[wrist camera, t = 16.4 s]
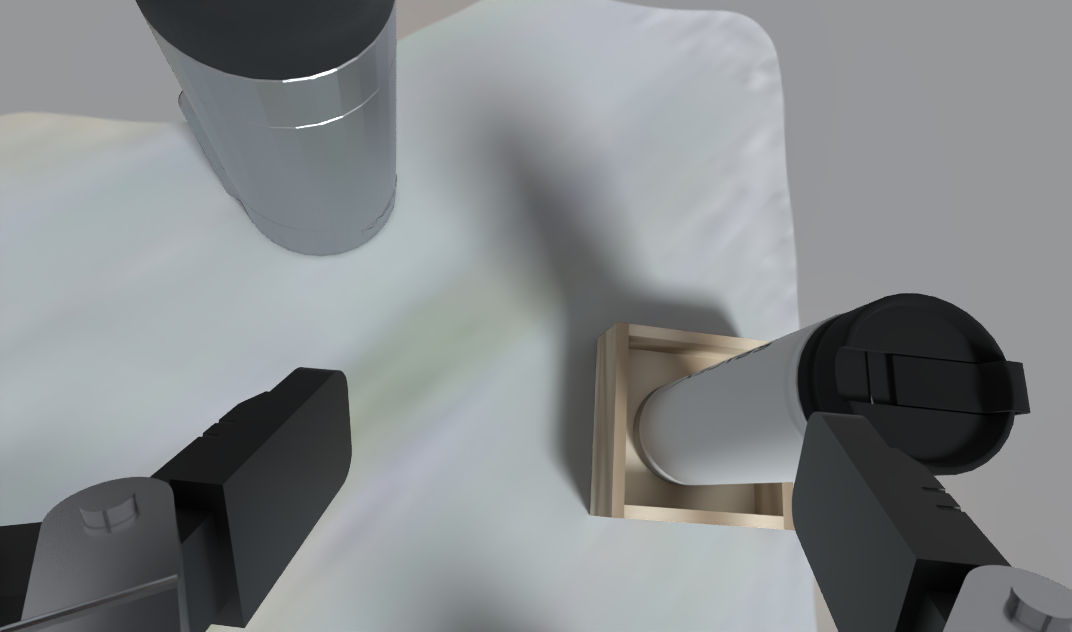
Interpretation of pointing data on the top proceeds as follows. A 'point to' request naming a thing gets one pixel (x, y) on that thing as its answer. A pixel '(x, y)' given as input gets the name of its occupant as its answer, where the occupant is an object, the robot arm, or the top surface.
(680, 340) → the birch dock
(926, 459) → the travel mug
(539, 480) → the top surface
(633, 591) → the top surface
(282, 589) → the top surface
